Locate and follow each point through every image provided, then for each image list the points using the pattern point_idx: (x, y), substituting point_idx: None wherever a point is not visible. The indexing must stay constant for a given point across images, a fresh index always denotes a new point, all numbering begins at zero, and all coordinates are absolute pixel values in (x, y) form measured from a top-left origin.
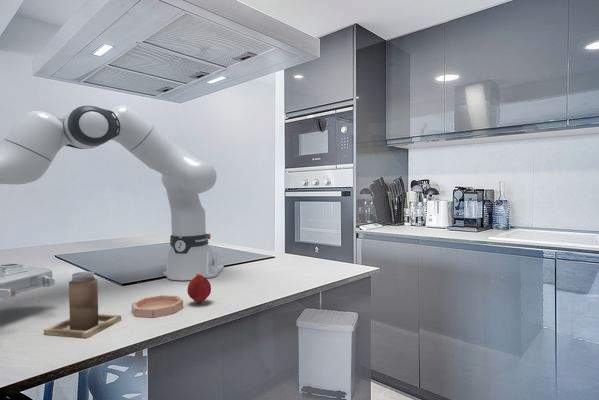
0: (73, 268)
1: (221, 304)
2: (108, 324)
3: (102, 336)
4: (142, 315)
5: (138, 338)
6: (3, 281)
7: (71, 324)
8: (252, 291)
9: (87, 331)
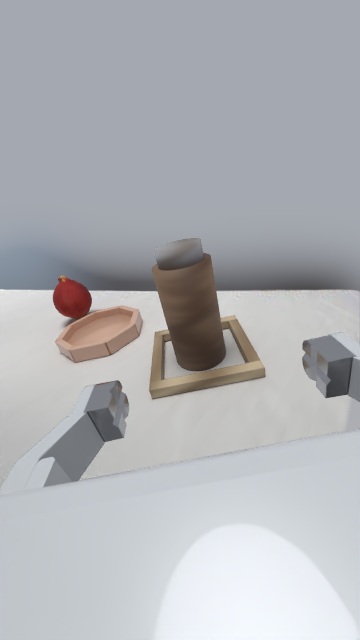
0: None
1: None
2: None
3: (220, 316)
4: (139, 326)
5: None
6: (346, 434)
7: (223, 342)
8: (40, 310)
9: (229, 318)
